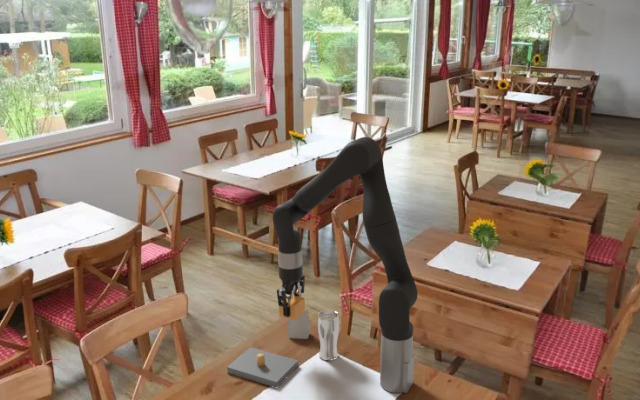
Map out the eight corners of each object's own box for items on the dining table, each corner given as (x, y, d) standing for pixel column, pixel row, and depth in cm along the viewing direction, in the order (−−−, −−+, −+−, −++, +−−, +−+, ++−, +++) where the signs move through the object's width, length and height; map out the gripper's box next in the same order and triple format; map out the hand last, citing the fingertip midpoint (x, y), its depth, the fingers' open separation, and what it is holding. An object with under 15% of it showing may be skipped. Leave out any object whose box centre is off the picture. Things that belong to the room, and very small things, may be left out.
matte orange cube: (304, 311, 191) (304, 297, 189) (295, 320, 186) (295, 305, 184) (288, 308, 194) (288, 294, 192) (279, 316, 189) (278, 302, 187)
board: (298, 366, 187) (297, 350, 186) (276, 387, 176) (276, 371, 175) (250, 352, 195) (249, 337, 194) (227, 372, 184) (226, 357, 182)
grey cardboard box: (307, 339, 203) (307, 312, 200) (288, 338, 204) (287, 311, 201) (309, 333, 207) (308, 307, 204) (290, 332, 207) (289, 306, 204)
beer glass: (339, 350, 196) (339, 309, 191) (338, 362, 189) (338, 320, 185) (318, 349, 196) (318, 309, 192) (316, 361, 190) (316, 319, 185)
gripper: (289, 273, 177) (291, 324, 182) (311, 257, 189) (313, 304, 194) (267, 269, 180) (270, 319, 185) (291, 253, 192) (293, 300, 197)
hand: (292, 311), depth 190 cm, fingers closed on matte orange cube, 6 cm apart
